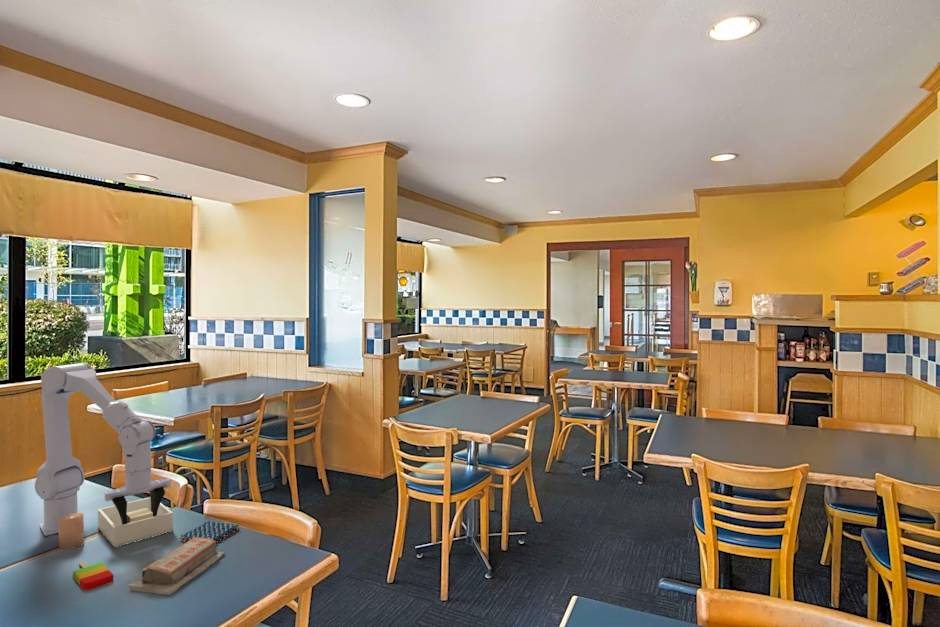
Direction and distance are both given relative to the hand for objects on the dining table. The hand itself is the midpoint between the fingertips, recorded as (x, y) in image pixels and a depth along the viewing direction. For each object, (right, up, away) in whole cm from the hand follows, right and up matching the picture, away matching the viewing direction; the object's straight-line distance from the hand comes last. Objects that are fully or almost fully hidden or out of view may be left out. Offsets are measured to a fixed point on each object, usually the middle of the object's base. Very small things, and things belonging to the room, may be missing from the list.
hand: (139, 521), depth 141 cm
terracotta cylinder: (-13, -4, -6) cm, 15 cm away
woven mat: (+19, -4, -1) cm, 19 cm away
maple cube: (0, -3, 0) cm, 3 cm away
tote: (-3, -3, +3) cm, 5 cm away
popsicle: (+2, -5, -21) cm, 21 cm away
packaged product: (+21, -4, -20) cm, 29 cm away
